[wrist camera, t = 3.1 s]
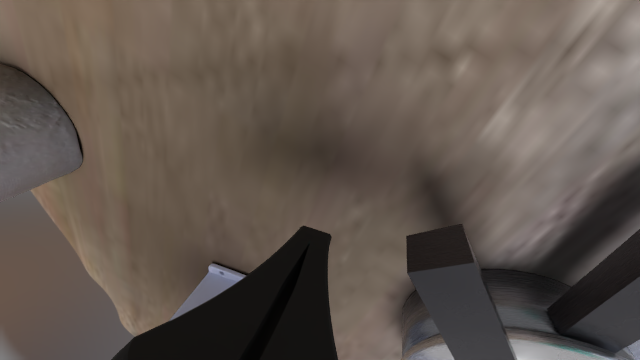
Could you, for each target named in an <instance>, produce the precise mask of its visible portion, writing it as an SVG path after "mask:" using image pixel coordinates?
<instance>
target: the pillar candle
mask: <svg viewBox="0 0 640 360" xmlns="http://www.w3.org/2000/svg"><path fill="white" fill-rule="evenodd" d="M82 161H83V158H82V154H81V151H80V147H79V143H78V139H77V135H76V131H75V128H74V126H73V124H72V122H71V121H70V119H69V117H68V116H67V115H66V113H65V112H64V110H63V109H62V107H61V106H60V105H59V104H58V103H57V102H56V101H55V99H54V98H53V97H52V96H51V95H50V93H48V92H47V91H46V90H45V89H44V88H43V87H41V86H40V85H39V84H38V83H37V82H35V81H34V80H33V79H32V78H30V77H29V76H27V75H26V74H24V73H23V72H21V71H18V70H17V69H15V68H12V67H9V66H6V65H3V64H0V202H2V201H5V200H7V199H10V198H12V197H14V196H17V195H19V194H21V193H24V192H26V191H28V190H31V189H33V188H35V187H38V186H40V185H42V184H44V183H47V182H49V181H51V180H53V179H56V178H58V177H61V176H63V175H66V174H68V173H70V172H72V171H74V170H76V169H78V168H79V167H80V165H81V164H82Z"/></svg>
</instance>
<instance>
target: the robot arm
mask: <svg viewBox="0 0 640 360" xmlns="http://www.w3.org/2000/svg"><path fill="white" fill-rule="evenodd" d="M330 241H331V235H330V234H328V233H325V232H322V231H319V230H316V229H313V228H309V227H306V226H302V227H300V229H299V230H298V231H297V232H296V233H295V234H294V235H293V236H292V237H291V238H290V239H289V240H288V241H287V242H286V243H285V244H284V245H283V246H282V247H281V248H280V249H279V250H278V251H277V252H275V253H274V254H273V255H272V256H271V257H270V258H269V259H267V260H266V261H265V262H264V263H262V264H261V265H260V266H259V267H257V268H256V269H255V270H254V271H252V272H251V273H250V274H248V275H247V276H246V275H244V274H241V273H238V272H236V271H233V270H230V269H227V268H225V267H222V266H219V265H217V264H210V266H209V267H208V268H209V272H208V274H207V275H206V276H205V277H204V279H203V280H202V281H201V282H200V283H199V285H198V286H197V287H196V288H195V290H194V291H193V292H192V293H191V294H190V296H189V297H188V298H187V299H186V301H185V302H184V303H183V304H182V305H181V307H180V308H179V309H178V310H177V312H176V313H175V314H174V315H173V317H172V318H171V319H170V320H169V321H168V322H166V323H164V324H162V325H160V326H158V327H155V328H153V329H151V330H149V331H147V332H145V333H142V334H140V335H138V336H136V337H134V338H133V339H132V340H131V341H130V342H129V343H128V344H127V345H126V346H125V347H124V348H123V349H121V350H120V351H119V352H118V353H117V354H116V355H115V356H114V357H113V359H112V360H338V357H337V352H336V347H335V342H334V336H333V330H332V323H331V315H330V307H329V295H328V251H329V245H330Z"/></svg>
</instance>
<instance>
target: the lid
mask: <svg viewBox="0 0 640 360" xmlns="http://www.w3.org/2000/svg"><path fill="white" fill-rule="evenodd" d="M406 239H407V273H408V275H409V277H410V279H411V280H412V282H413V284H414V286H415V288H416V290H417V292H418V293H419V295H420V297H421V299H422V301H423V303H424V304H425V306H426V308H427V310H428V312H429V314H430V315H431V317H432V319H433V321H434V323H435V325H436V327H437V328H438V330H439V332H440V334H441V335H437V336H433V337H431V338H428V339H426V340H423V341H421V342H419V343H418V344H416V345H414V346H413V347H411V348H410V349H409V350H408V351H407V352H406V353H405V354H404V355H403V356H402V358H401V360H628V359H626V358H624V357H622V356H620V355H617V354H615V353H613V352H611V351H609V350H606V349H603V348H600V347H597V346H594V345H592V344H589V343H585V342H582V341H578V340H574V339H571V338H567V337H562V336H557V335H552V334H547V333H542V332H534V331H526V330H515V329H505V328H504V325H503V323H502V320H501V318H500V315H499V313H498V311H497V308H496V306H495V303H494V301H493V298H492V296H491V293H490V291H489V289H488V286H487V284H486V281H485V279H484V276H483V274H482V271H481V269H480V266H479V264H478V262H477V259H476V257H475V254H474V252H473V249H472V247H471V244H470V242H469V240H468V237H467V235H466V232H465V230H464V227H463V225H462V224H459V225H454V226H450V227H445V228H441V229H436V230H432V231H427V232H423V233H418V234H413V235H409V236H406Z"/></svg>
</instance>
